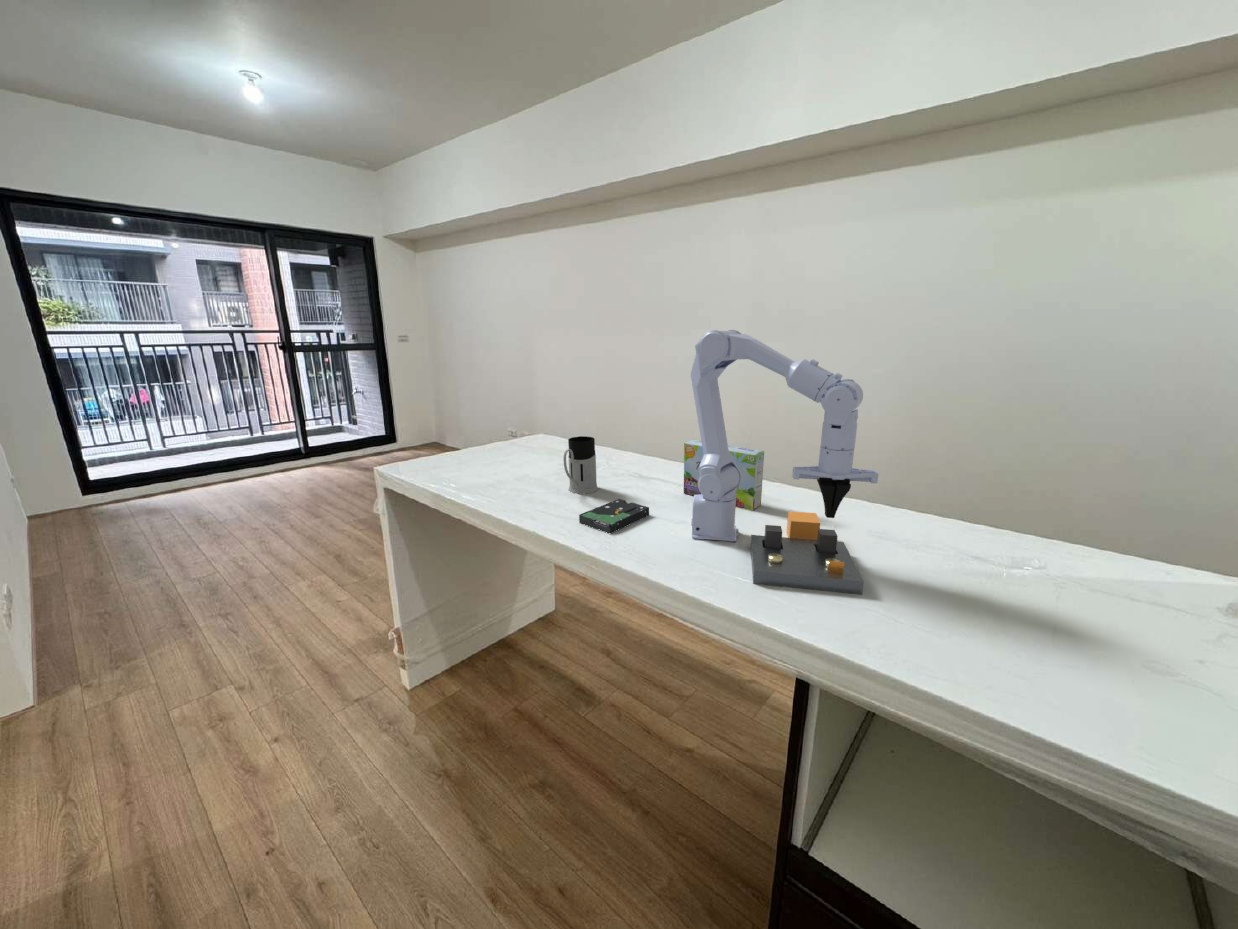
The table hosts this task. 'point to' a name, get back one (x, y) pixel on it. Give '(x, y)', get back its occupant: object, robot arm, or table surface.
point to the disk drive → (614, 515)
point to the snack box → (746, 462)
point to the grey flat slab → (804, 566)
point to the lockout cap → (802, 525)
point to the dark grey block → (826, 541)
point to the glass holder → (581, 464)
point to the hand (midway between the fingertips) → (829, 516)
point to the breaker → (773, 537)
